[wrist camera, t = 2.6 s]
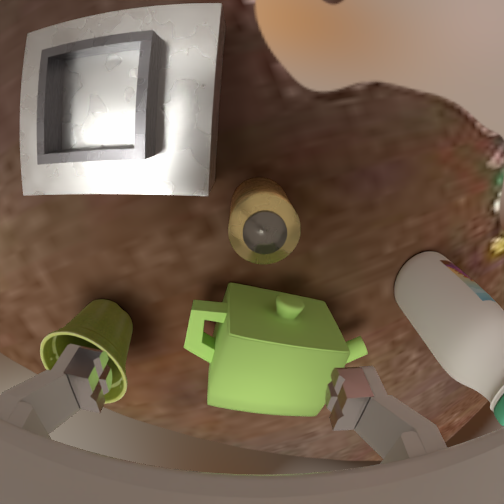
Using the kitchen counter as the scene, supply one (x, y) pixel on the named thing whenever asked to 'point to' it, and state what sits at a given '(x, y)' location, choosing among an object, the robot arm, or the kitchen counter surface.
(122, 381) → the plant pot
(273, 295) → the green teapot
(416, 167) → the kitchen counter surface
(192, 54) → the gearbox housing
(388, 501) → the robot arm
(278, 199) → the tan cylinder
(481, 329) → the milk bottle
